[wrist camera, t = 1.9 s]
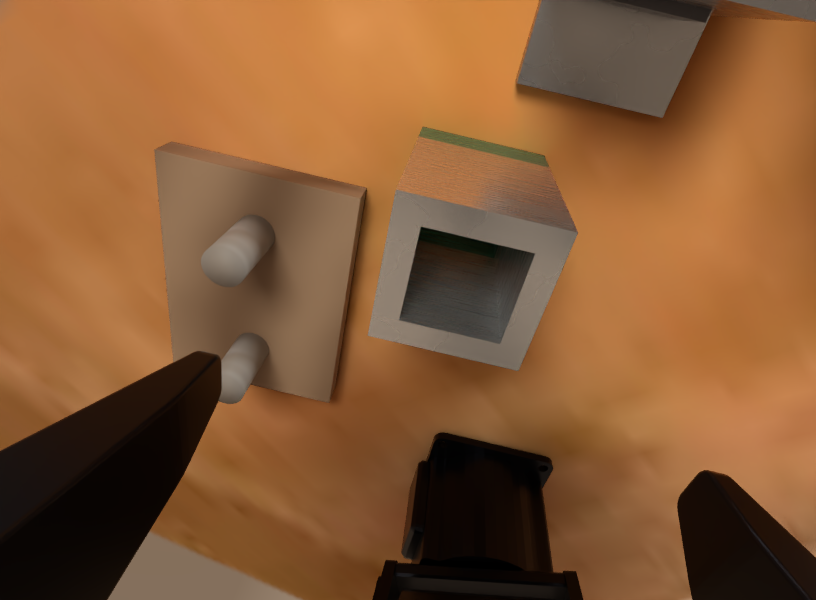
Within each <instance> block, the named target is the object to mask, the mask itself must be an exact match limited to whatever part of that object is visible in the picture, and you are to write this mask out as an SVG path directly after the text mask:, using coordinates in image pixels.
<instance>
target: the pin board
mask: <svg viewBox="0 0 816 600" xmlns="http://www.w3.org/2000/svg"><path fill="white" fill-rule="evenodd" d="M154 151H155V162H156V173H157V184H158V195H159V207H160V218H161V229H162V240H163V251H164V262H165V273H166V285H167V296H168V307H169V318H170V329H171V340H172V351H173V362H175V361H177V360H179V359H181V358H183V357H185V356H187V355H189V354H191V353H193V352H195V351H204V352H208V353H213V354H217V355H218V356H220V358H221V363H222V391H221V395H220V398H219V401H220V402H223V403H227V404H233V403H237V402H239V401H240V400H241V399H242V397H243V396H244V394H245V392H246V391H247V389H248V387H249V386H250V384H251V385H255V386H259V387H264V388H268V389H272V390H276V391H281V392H285V393H289V394H293V395H298V396H302V397H306V398H310V399H315V400H319V401H323V402H327V403H329V402H330V399H331V397H332V394H333V391H334V389H335V385H336V378H337V372H338V366H339V359H340V353H341V347H342V340H343V334H344V328H345V321H346V315H347V309H348V302H349V296H350V290H351V283H352V277H353V271H354V264H355V258H356V252H357V245H358V239H359V233H360V226H361V220H362V214H363V207H364V201H365V195H366V188H365V187H360V186H356V185H352V184H348V183H343V182H339V181H335V180H331V179H327V178H322V177H318V176H314V175H310V174H305V173H301V172H297V171H293V170H289V169H284V168H280V167H276V166H272V165H267V164H263V163H259V162H255V161H251V160H246V159H242V158H238V157H234V156H230V155H225V154H221V153H217V152H213V151H208V150H204V149H200V148H196V147H192V146H187V145H183V144H179V143H175V142H170V143H168V144H165V145H163V146H161V147H159V148H157V149H155V150H154Z"/></svg>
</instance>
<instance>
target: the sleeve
mask: <svg viewBox="0 0 816 600" xmlns="http://www.w3.org/2000/svg"><path fill="white" fill-rule="evenodd" d="M577 234H578V231H577V229H576V227H575V225H574V222H573V220H572V218H571V216H570V213H569V211H568V209H567V206H566V204H565V202H564V200H563V197H562V195H561V193H560V191H559V188H558V186H557V184H556V181H555V179H554V177H553V175H552V172H551V170H550V168H549V165H548V163H547V161H546V159H545V156H544V155H540V154H535V153H531V152H527V151H523V150H519V149H514V148H510V147H506V146H502V145H497V144H493V143H489V142H485V141H481V140H476V139H472V138H468V137H464V136H460V135H455V134H451V133H447V132H443V131H439V130H434V129H430V128H426V127H423V128H422V130H421V132H420V135H419V137H418V139H417V142H416V144H415V146H414V149H413V151H412V153H411V156H410V158H409V160H408V163H407V165H406V167H405V170H404V172H403V174H402V177H401V179H400V181H399V184H398V186H397V188H396V192H395V197H394V203H393V208H392V213H391V218H390V223H389V228H388V234H387V239H386V244H385V249H384V254H383V259H382V265H381V270H380V275H379V280H378V285H377V290H376V296H375V301H374V306H373V311H372V316H371V322H370V327H369V332H368V336H372V337H376V338H380V339H384V340H389V341H393V342H397V343H401V344H406V345H410V346H414V347H418V348H423V349H427V350H431V351H435V352H440V353H444V354H448V355H452V356H457V357H461V358H465V359H469V360H474V361H478V362H482V363H486V364H490V365H495V366H499V367H503V368H507V369H512V370H516V371H518V370H519V368H520V366H521V364H522V361H523V359H524V357H525V354H526V352H527V350H528V347H529V345H530V343H531V340H532V338H533V336H534V333H535V331H536V329H537V326H538V324H539V322H540V320H541V317H542V315H543V313H544V310H545V308H546V306H547V303H548V301H549V299H550V296H551V294H552V292H553V289H554V287H555V285H556V282H557V280H558V278H559V276H560V273H561V271H562V269H563V266H564V264H565V262H566V259H567V257H568V255H569V252H570V250H571V248H572V245H573V243H574V241H575V238H576V236H577Z"/></svg>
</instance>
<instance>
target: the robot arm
mask: <svg viewBox="0 0 816 600" xmlns="http://www.w3.org/2000/svg"><path fill="white" fill-rule="evenodd" d="M221 391H222V363H221V358H220V356H218V355H217V354H213V353H208V352H204V351H195V352H193V353H191V354H189V355H187V356H185V357H183V358H181V359H179V360H177V361H175V362H173V363H171V364H169V365H167V366H165V367H163V368H161V369H159V370H158V371H156V372H154V373H152V374H150V375H148V376H146V377H144V378H142V379H140V380H138V381H136V382H134V383H132V384H130V385H128V386H126V387H124V388H122V389H120V390H118V391H116V392H114V393H113V394H111V395H109V396H107V397H105V398H103V399H101V400H99V401H97V402H95V403H93V404H91V405H89V406H87V407H85V408H83V409H81V410H79V411H77V412H75V413H73V414H71V415H69V416H68V417H66V418H64V419H62V420H60V421H58V422H56V423H54V424H52V425H50V426H48V427H46V428H44V429H42V430H40V431H38V432H36V433H34V434H32V435H30V436H28V437H26V438H24V439H23V440H21V441H19V442H17V443H15V444H13V445H11V446H9V447H7V448H5V449H3V450H1V451H0V600H107V599H108V598H109V596H110V595H111V593H112V591H113V590H114V588H115V586H116V585H117V583H118V581H119V580H120V578H121V577H122V575H123V573H124V572H125V570H126V568H127V567H128V565H129V563H130V562H131V560H132V559H133V557H134V555H135V554H136V552H137V550H138V549H139V547H140V546H141V544H142V542H143V541H144V539H145V537H146V536H147V534H148V532H149V531H150V529H151V528H152V526H153V524H154V523H155V521H156V519H157V518H158V516H159V515H160V513H161V511H162V510H163V508H164V506H165V505H166V503H167V501H168V500H169V498H170V497H171V495H172V493H173V492H174V490H175V488H176V487H177V485H178V483H179V482H180V480H181V478H182V476H183V475H184V473H185V471H186V469H187V467H188V465H189V463H190V461H191V458H192V456H193V454H194V452H195V450H196V448H197V446H198V443H199V441H200V439H201V437H202V435H203V433H204V431H205V429H206V426H207V424H208V422H209V420H210V418H211V416H212V414H213V412H214V409H215V407H216V405H217V403H218V401H219V398H220V395H221ZM444 442H445V443H444ZM542 465H544V466H542ZM552 470H553V466H552V461H551V459H550V458H548V457H546V456H541V455H537V454H533V453H529V452H524V451H520V450H516V449H511V448H507V447H503V446H499V445H494V444H490V443H486V442H482V441H477V440H473V439H469V438H465V437H460V436H456V435H452V434H448V433H438V434H436V435H435V437H434V439H433V442H432V445H431V448H430V451H429V454H428V457H427V460H426V461H424V460H422V461H421V462H419V463H418V466H417V469H416V472H415V475H414V478H413V481H412V484H411V487H410V493H409V500H408V507H407V515H406V522H405V529H404V537H403V544H402V551H401V553H402V555H403V556H404V558H406V559H411V560H412V562H411V564H410V563H398V562H397V561H395V560H386V561H385V564H384V568H383V572H382V575H381V576H379V577H378V581H377V584H376V588H375V592H374V596H373V599H372V600H583V597H582V593H581V589H580V585H579V581H578V577H577V573H576V571H563V573H557V572H553V566H552V558H551V551H550V543H549V536H548V529H547V521H546V514H545V506H544V499H543V491H542V488H543V486H544V484H545V483H546V481H547V479H548V477H549V476H550V474H551V472H552ZM677 508H678V516H679V522H680V529H681V535H682V541H683V548H684V554H685V561H686V567H687V573H688V580H689V585H690V590H691V595H692V599H693V600H816V557H815V556H813V555H812V554H811V553H810V552H809V551H808V550H807V549H806V548H805V547H804V546H803V545H802V544H801V543H800V542H799V541H798V540H796V539H795V538H794V537H793V536H792V535H791V534H790V533H789V532H788V531H787V530H786V529H785V528H784V527H783V526H782V525H781V524H779V523H778V522H777V521H776V520H775V519H774V518H773V517H772V516H771V515H770V514H769V513H768V512H767V511H766V510H765V509H764V508H762V507H761V506H760V505H759V504H758V503H757V502H756V501H755V500H754V499H753V498H752V497H751V496H750V495H749V494H748V493H747V492H745V491H744V490H743V489H742V488H741V487H740V486H739V485H738V484H737V483H736V482H735V481H734V480H733V479H732V478H730V477H729V476H727V475H725V474H721V473H717V472H713V471H709V470H703V471H701V472H699V473H698V474H697V475H696V477H695V478H694V479H693V480H692V481H691V483H690V484H689V485H688V486H687V487H686V489H685V490H684V491H683V492H682V493H681V495H680V497H679V499H678V506H677Z"/></svg>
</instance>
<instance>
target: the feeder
mask: <svg viewBox="0 0 816 600" xmlns="http://www.w3.org/2000/svg"><path fill="white" fill-rule="evenodd" d="M710 16H724V17H741V18H757V19H774V20H790V21H807V22H816V0H539V4H538V7H537V10H536V14H535V17H534V21H533V24H532V27H531V31H530V34H529V37H528V41H527V44H526V48H525V51H524V54H523V58H522V61H521V64H520V68H519V71H518V74H517V78H516V83H518V84H522V85H526V86H530V87H535V88H539V89H543V90H547V91H551V92H556V93H560V94H564V95H568V96H572V97H577V98H581V99H585V100H589V101H593V102H598V103H602V104H606V105H610V106H614V107H618V108H623V109H627V110H631V111H635V112H639V113H644V114H648V115H652V116H656V117H660V118H663V116H664V114H665V111H666V109H667V107H668V105H669V103H670V101H671V99H672V97H673V94H674V92H675V90H676V88H677V86H678V84H679V82H680V80H681V77H682V75H683V73H684V71H685V69H686V67H687V65H688V62H689V60H690V58H691V56H692V54H693V52H694V50H695V48H696V45H697V43H698V41H699V39H700V37H701V35H702V33H703V31H704V28H705V26H706V24H707V22H708V20H709V18H710Z"/></svg>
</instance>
